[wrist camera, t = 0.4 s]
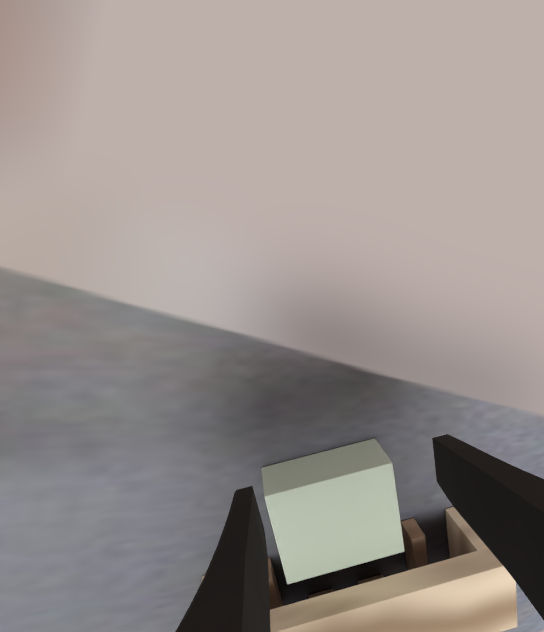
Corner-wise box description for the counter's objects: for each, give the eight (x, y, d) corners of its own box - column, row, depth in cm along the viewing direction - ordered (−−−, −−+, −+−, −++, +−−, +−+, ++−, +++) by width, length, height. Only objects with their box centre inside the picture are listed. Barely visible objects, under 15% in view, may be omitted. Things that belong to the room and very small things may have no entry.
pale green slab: (387, 519, 23) (404, 551, 21) (282, 548, 23) (287, 584, 20) (374, 438, 22) (392, 462, 19) (261, 467, 21) (264, 496, 19)
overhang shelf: (468, 560, 25) (517, 626, 21) (221, 630, 24) (217, 716, 19) (463, 504, 24) (515, 562, 19) (202, 576, 23) (193, 655, 18)
